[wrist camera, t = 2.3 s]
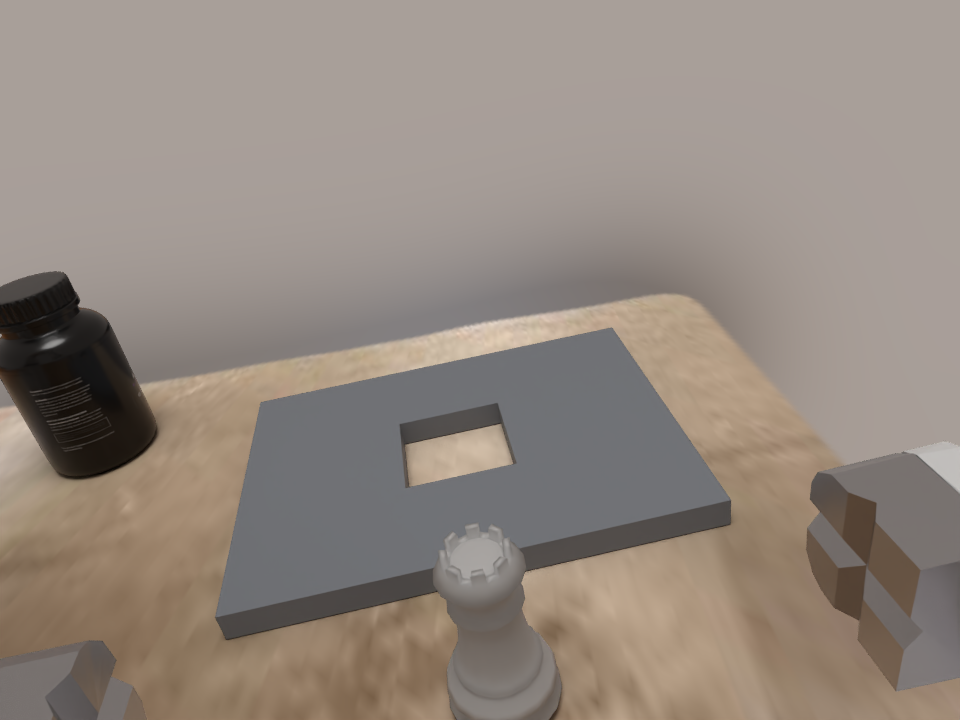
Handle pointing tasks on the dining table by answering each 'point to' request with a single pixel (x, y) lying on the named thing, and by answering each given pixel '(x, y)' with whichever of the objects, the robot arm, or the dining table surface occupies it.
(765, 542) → the dining table surface
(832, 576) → the robot arm
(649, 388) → the socket board
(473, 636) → the rook chess piece
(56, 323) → the supplement bottle
